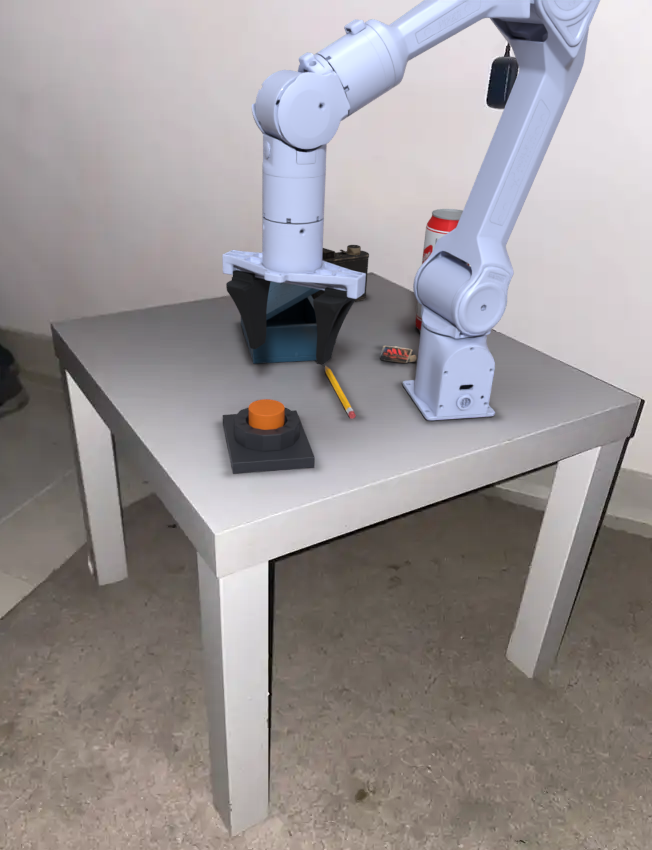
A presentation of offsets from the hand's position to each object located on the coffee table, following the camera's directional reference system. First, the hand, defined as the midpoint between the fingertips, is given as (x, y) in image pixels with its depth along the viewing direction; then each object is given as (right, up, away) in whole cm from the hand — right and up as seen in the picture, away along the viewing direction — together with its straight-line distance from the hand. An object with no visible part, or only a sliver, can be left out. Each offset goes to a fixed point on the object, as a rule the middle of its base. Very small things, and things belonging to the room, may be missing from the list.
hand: (290, 353), depth 79 cm
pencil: (+5, -3, +12) cm, 13 cm away
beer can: (+20, +7, +29) cm, 36 cm away
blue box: (-1, +5, +24) cm, 25 cm away
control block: (-2, -9, 0) cm, 10 cm away
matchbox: (+13, +2, +21) cm, 25 cm away
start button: (-2, -7, -1) cm, 8 cm away
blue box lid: (-1, +11, +20) cm, 23 cm away
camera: (+4, +12, +36) cm, 39 cm away
